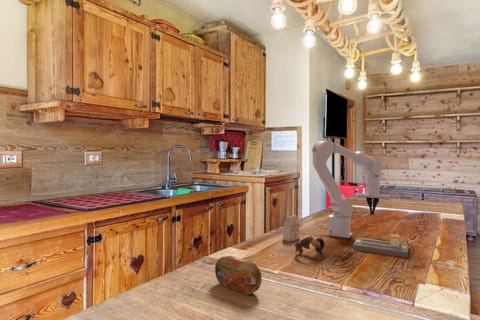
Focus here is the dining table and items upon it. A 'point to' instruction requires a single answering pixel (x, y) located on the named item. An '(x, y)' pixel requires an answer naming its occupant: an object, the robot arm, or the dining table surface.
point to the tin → (238, 274)
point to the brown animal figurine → (315, 243)
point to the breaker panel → (380, 247)
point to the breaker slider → (394, 240)
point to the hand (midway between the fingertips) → (372, 214)
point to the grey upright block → (291, 229)
